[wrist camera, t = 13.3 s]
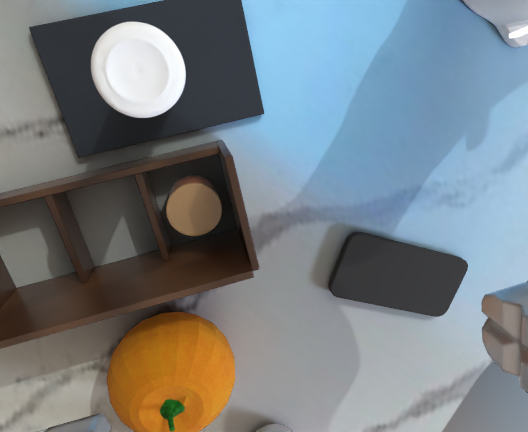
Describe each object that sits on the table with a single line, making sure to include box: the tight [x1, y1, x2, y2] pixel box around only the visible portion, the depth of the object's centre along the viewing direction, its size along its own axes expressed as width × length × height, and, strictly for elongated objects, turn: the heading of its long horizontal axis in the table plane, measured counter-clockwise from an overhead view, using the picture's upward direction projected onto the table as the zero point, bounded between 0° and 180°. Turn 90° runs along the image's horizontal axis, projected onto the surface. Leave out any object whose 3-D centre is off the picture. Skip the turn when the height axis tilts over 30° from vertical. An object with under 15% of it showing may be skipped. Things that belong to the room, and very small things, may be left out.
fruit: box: [107, 312, 235, 432], centre depth 36 cm, size 12×12×10 cm
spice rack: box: [0, 140, 259, 349], centre depth 31 cm, size 22×9×9 cm, turn 102°
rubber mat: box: [29, 0, 264, 158], centre depth 32 cm, size 16×10×1 cm, turn 102°
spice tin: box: [166, 175, 222, 236], centre depth 35 cm, size 5×5×4 cm
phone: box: [329, 232, 468, 316], centre depth 43 cm, size 7×1×15 cm
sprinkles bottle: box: [91, 22, 186, 118], centre depth 26 cm, size 5×5×13 cm
